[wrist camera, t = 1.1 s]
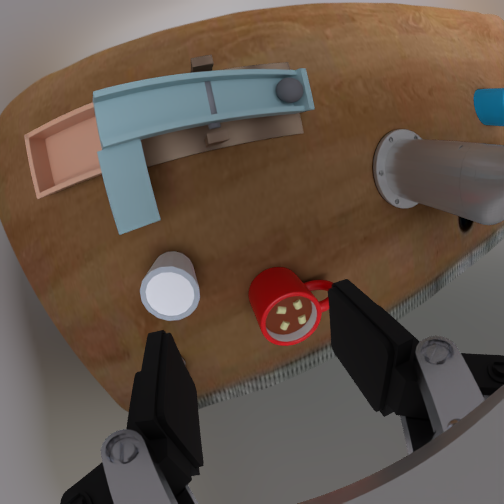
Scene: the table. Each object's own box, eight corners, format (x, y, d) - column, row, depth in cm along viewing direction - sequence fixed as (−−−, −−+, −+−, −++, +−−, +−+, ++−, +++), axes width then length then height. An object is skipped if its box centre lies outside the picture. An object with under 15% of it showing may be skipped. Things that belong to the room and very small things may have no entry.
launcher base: (286, 63, 31) (311, 42, 23) (301, 133, 34) (330, 128, 26) (109, 100, 28) (87, 86, 20) (125, 174, 31) (105, 179, 24)
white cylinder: (141, 254, 35) (130, 275, 29) (190, 240, 36) (189, 259, 29) (158, 299, 38) (152, 326, 31) (204, 287, 38) (207, 313, 32)
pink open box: (108, 108, 28) (95, 101, 24) (120, 168, 31) (109, 170, 26) (43, 136, 27) (24, 135, 22) (55, 193, 30) (37, 199, 25)
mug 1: (328, 295, 43) (352, 321, 36) (256, 322, 42) (269, 354, 35) (321, 250, 40) (347, 271, 33) (241, 277, 39) (253, 305, 32)
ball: (293, 80, 28) (305, 73, 25) (298, 103, 29) (310, 99, 26) (269, 82, 27) (279, 75, 24) (274, 106, 28) (285, 101, 26)
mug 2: (480, 128, 39) (509, 130, 32) (469, 91, 36) (499, 90, 29) (499, 118, 40) (525, 120, 32) (490, 85, 37) (516, 85, 29)
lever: (285, 72, 29) (304, 64, 26) (305, 173, 33) (326, 174, 31) (86, 97, 19) (86, 84, 16) (118, 233, 24) (122, 239, 21)
